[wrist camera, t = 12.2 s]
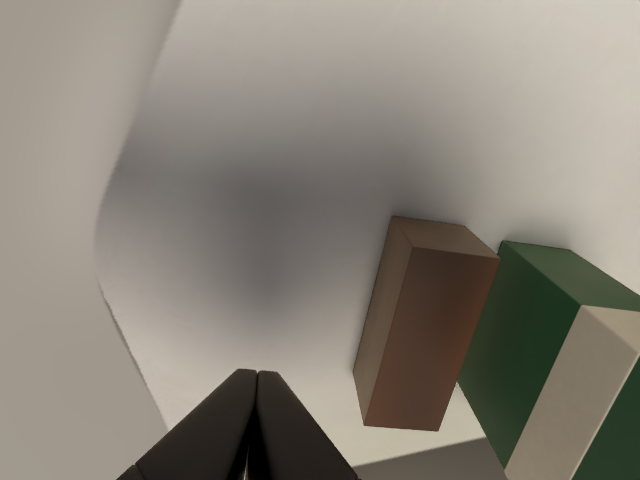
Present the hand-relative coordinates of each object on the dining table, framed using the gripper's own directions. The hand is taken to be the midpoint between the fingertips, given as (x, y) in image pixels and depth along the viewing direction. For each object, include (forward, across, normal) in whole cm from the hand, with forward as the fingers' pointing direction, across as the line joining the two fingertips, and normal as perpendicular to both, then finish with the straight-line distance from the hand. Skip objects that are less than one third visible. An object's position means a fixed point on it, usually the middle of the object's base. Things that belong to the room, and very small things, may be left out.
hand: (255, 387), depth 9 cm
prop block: (+13, +8, -5) cm, 16 cm away
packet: (+13, +14, -5) cm, 20 cm away
